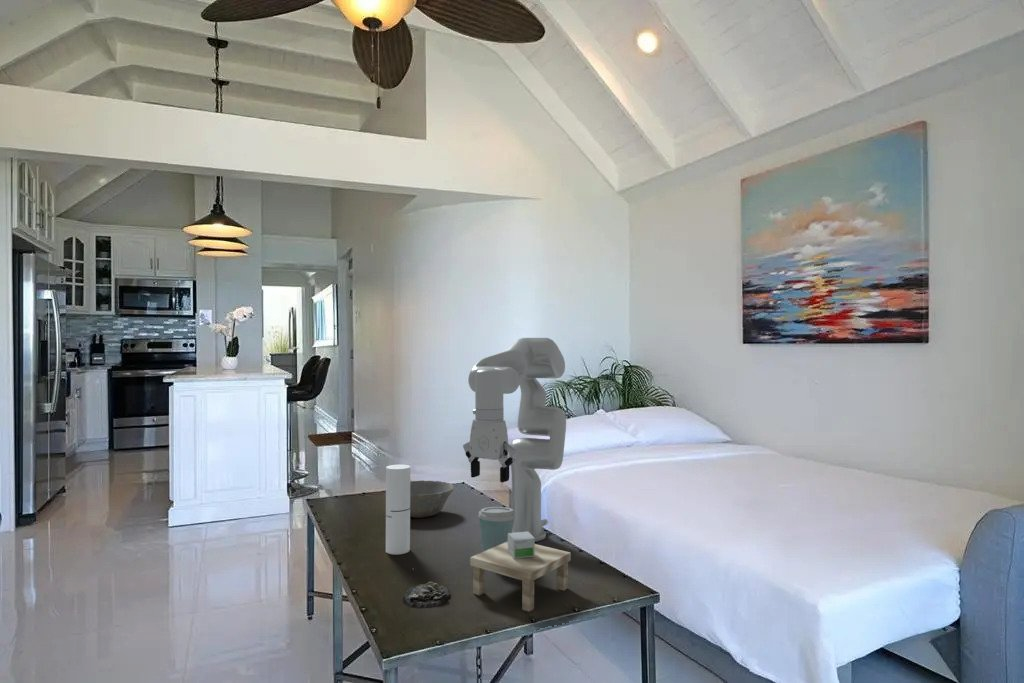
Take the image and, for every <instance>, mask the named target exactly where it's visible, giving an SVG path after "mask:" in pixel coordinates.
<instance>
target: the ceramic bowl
mask: <svg viewBox="0 0 1024 683" xmlns="http://www.w3.org/2000/svg"><path fill="white" fill-rule="evenodd" d="M454 490H455V487H454V485H453V484H452V483H450V482H446V481H441V480H413V481H412V480H410V518H411V517H412V518H416V519H417V518H418V519H419V518H421V519H422V518H426V517H430V516H435V515H436V514H438V513H439V512H441V511H442V510H443V509H444V506H445V504H446V502H447V500H448V498H449V496H451V493H452V492H453V491H454Z"/></svg>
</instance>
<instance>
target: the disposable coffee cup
mask: <svg viewBox="0 0 1024 683" xmlns="http://www.w3.org/2000/svg"><path fill="white" fill-rule="evenodd" d="M478 518H479V524H480V525H479V526H480V535H481V545H482V552H484V551H486V550H489V549H491V548H493V547H496V546H498V545H500V544H503V543H505V542H507V541H508V533H512V529H513V523H514V518H516V517H515V513H514V510H513V509H512V507H505V506H489V507H488V506H487V507H484V508H481V509H480V510H479V511H478Z"/></svg>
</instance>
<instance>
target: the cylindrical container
mask: <svg viewBox="0 0 1024 683" xmlns="http://www.w3.org/2000/svg"><path fill="white" fill-rule="evenodd" d="M385 470H386V471H385V553H387V554H389V555H394V556H395V555H403V554H406V553H409V552H410V551H411V516H410V482H411V465H408V464H391V465H387V466H385Z"/></svg>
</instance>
